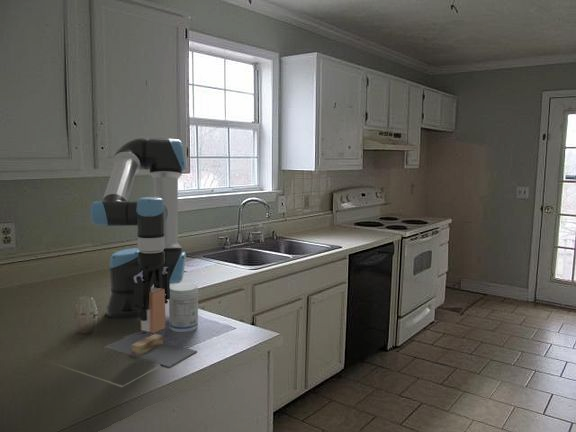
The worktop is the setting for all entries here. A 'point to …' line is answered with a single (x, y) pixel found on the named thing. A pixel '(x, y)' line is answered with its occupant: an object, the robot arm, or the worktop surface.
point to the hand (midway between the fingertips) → (153, 327)
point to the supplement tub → (183, 307)
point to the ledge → (146, 344)
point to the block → (156, 309)
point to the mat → (154, 351)
